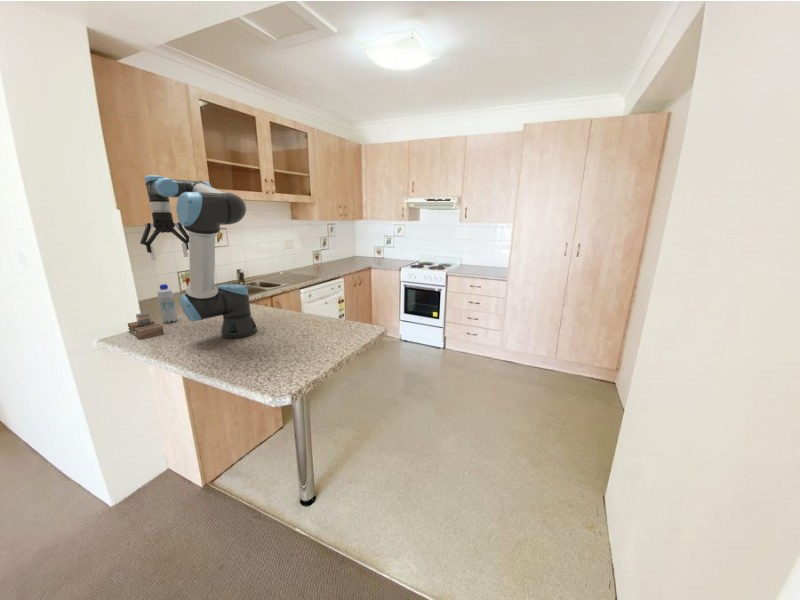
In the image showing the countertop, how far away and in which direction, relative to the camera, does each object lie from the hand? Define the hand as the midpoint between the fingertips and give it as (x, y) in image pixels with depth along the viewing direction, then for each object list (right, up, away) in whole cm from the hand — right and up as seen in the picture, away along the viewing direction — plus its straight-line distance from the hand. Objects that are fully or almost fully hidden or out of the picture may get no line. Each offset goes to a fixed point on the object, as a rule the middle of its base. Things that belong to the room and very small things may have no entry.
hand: (170, 258), depth 154 cm
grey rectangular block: (-12, -34, 0) cm, 36 cm away
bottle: (-11, -31, +16) cm, 37 cm away
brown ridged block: (-12, -35, 0) cm, 37 cm away
